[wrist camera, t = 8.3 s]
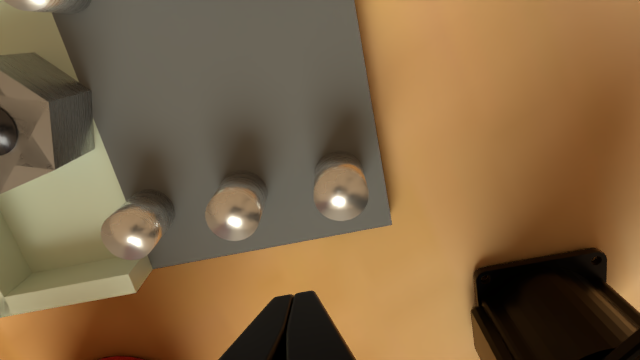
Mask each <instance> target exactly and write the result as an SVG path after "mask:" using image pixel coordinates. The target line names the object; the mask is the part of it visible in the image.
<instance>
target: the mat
mask: <svg viewBox="0 0 640 360" xmlns="http://www.w3.org/2000/svg"><path fill="white" fill-rule="evenodd" d="M52 15H53V18H54V20H55V23H56V25H57V28H58V30H59V33H60V35H61V38H62V40H63V43H64V46H65V48H66V51H67V53H68V56H69V58H70V61H71V63H72V66H73V68H74V71H75V73H76V76H77V78H78V81H79V83H81V84H82V85H84V86H85V87H87V88H88V89H90V90H91V91H92V108H93V119H94V121H95V124H96V127H97V129H98V132H99V134H100V137H101V139H102V142H103V144H104V147H105V149H106V152H107V154H108V157H109V159H110V162H111V164H112V167H113V170H114V172H115V175H116V177H117V180H118V182H119V185H120V187H121V190H122V192H123V195H124V197H125V200H126V201H127V200H129V199H130V198H131V197H132V196H133V195H134V194H136V193H137V192H139V191H142V190H155V191H158V192H160V193H162V194H164V195H165V196H166V197H168V199H169V200H170V201H171V202H172V204H173V206H174V210H175V218H174V221H173V223H172V224H171V226H170V227H169V228H168V230H167V231H166V232H165V234H164V235H163V236H162V238H161V239H160V240H159V241H158V243H157V244H156V245H155V247H154V248H153V249H152V250H151V252H150V253H149V254H148V255H147V256H148V258H149V261H150V263H151V266H152V268H153V269H157V268H162V267H167V266H173V265H178V264H184V263H189V262H194V261H200V260H205V259H211V258H216V257H221V256H227V255H232V254H237V253H243V252H248V251H254V250H259V249H264V248H270V247H275V246H281V245H286V244H291V243H297V242H302V241H308V240H313V239H318V238H324V237H329V236H335V235H340V234H345V233H351V232H356V231H361V230H367V229H372V228H378V227H383V226H388V225H392V221H391V215H390V210H389V204H388V198H387V192H386V186H385V180H384V174H383V168H382V162H381V156H380V150H379V144H378V138H377V133H376V127H375V121H374V115H373V109H372V103H371V97H370V91H369V85H368V79H367V73H366V67H365V61H364V55H363V50H362V44H361V38H360V32H359V26H358V20H357V14H356V8H355V2H354V0H92V1H91V3H90V5H89V6H88V7H87V8H86V9H85V10H83V11H81V12H79V13H74V14H67V13H52ZM337 151H342V152H347V153H349V154H351V155H353V156H354V157H355V158H356V159H357V160H358V161H359V162H360V164H361V166H362V169H363V173H364V177H365V180H366V184H367V187H368V192H369V198H368V203H367V205H366V207H365V209H364V210H363V211H362V212H361V213H360V214H359V215H358V216H356V217H355V218H353V219H350V220H346V221H336V220H332V219H329V218H327V217H325V216H324V215H323V214H321V213H320V211H319V210H318V209H317V207H316V205H315V202H314V177H315V169H316V166H317V164H318V162H319V161H320V159H322V158H323V157H324V156H325V155H327V154H329V153H332V152H337ZM236 171H248V172H251V173H253V174H255V175H257V176H258V177H259V178H261V180H262V181H263V182H264V184H265V186H266V189H267V200H266V203H265V206H264V209H263V212H262V215H261V218H260V221H259V224H258V227H257V229H256V230H255V232H254V233H253V234H252V235H251V236H249V237H248V238H246V239H243V240H240V241H229V240H225V239H222V238H220V237H218V236H217V235H216V234H214V233H213V232H212V231H211V229H210V228H209V226H208V225H207V222H206V219H205V211H206V207H207V205H208V203H209V201H210V200H211V198H212V197H213V195H214V194H215V192H216V191H217V189H218V188H219V186H220V184H221V183H222V181H223V180H224V179H225V178H226V177H227V176H228V175H229V174H231V173H233V172H236Z"/></svg>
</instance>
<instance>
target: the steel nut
mask: <svg viewBox="0 0 640 360" xmlns="http://www.w3.org/2000/svg"><path fill="white" fill-rule="evenodd" d="M94 149H95V142H94V125H93V108H92V91H91V90H90V89H88V88H87V87H85V86H84V85H82V84H81V83H79V82H78V81H77V80H75V79H74V78H72V77H71V76H69V75H68V74H66V73H65V72H63V71H62V70H60V69H59V68H57V67H56V66H54V65H53V64H51V63H50V62H48V61H47V60H45V59H44V58H42V57H41V56H39V55H38V54H36V53H35V52H32V53H20V54H8V55H0V194H2V193H4V192H6V191H8V190H11V189H13V188H15V187H18V186H20V185H22V184H24V183H27V182H29V181H31V180H33V179H36V178H38V177H40V176H42V175H45V174H47V173H49V172H52V171H54V170H56V169H58V168H60V167H62V166H63V165H65V164H67V163H69V162H71V161H73V160H75V159H77V158H79V157H80V156H82V155H84V154H86V153H88V152H90V151H92V150H94Z"/></svg>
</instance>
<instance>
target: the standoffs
mask: <svg viewBox="0 0 640 360" xmlns="http://www.w3.org/2000/svg"><path fill="white" fill-rule="evenodd" d="M4 1H5V2H6V3H8V4H9V5H10V6H12V7H14V8H16V9H19V10H23V11H33V12H50V13H67V14H74V13H79V12H81V11H83V10H85V9H86V8H87V7H88V6H89V5H90V3H91V1H92V0H4ZM368 198H369V192H368V187H367V184H366V180H365V177H364V173H363V169H362V166H361V164H360V162H359V161H358V160H357V159H356V158H355V157H354V156H353V155H351V154H349V153H347V152H342V151H337V152H332V153H329V154H327V155H325V156H324V157H323V158H322V159H320V161H319V162H318V164H317V166H316V169H315V177H314V202H315V205H316V207H317V209H318V210H319V211H320V213H321V214H323V215H324V216H325V217H327V218H329V219H332V220H336V221H346V220H350V219H353V218H355V217H356V216H358V215H359V214H360V213H361V212H362V211H363V210H364V209H365V207H366V205H367V203H368ZM266 200H267V189H266V186H265V184H264V182H263V181H262V180H261V178H259V177H258V176H257V175H255V174H253V173H251V172H248V171H236V172H233V173H231V174H229V175H228V176H227V177H226V178H225V179H224V180H223V181H222V183H221V184H220V186H219V188H218V189H217V191H216V192H215V194H214V195H213V197H212V198H211V200H210V201H209V203H208V205H207V207H206V211H205V219H206V222H207V225H208V226H209V228H210V229H211V231H212V232H213V233H214V234H216V235H217V236H218V237H220V238H222V239H225V240H229V241H240V240H243V239H246V238H248V237H249V236H251V235H252V234H253V233H254V232H255V230H256V229H257V227H258V224H259V221H260V218H261V215H262V212H263V209H264V206H265V203H266ZM174 218H175V210H174V206H173V204H172V202H171V201H170V200H169V199H168V197H166V196H165V195H164V194H162V193H160V192H158V191H155V190H142V191H139V192H137V193H136V194H134V195H133V196H132V197H131V198H130V199H129V200H127V201H126V202H125V203H124V204H123V205H122V206H121V207H120V208H118V209H117V210H116V211H115V212H114V213H113V214H112V215H110V216H109V217H108V218H107V219H106V220H105V221H104V223H103V225H102V228H101V238H102V241H103V243H104V245H105V247H106V248H107V249H108V250H109V251H110V252H111V253H112V254H113V255H115V256H117V257H119V258H122V259H125V260H138V259H141V258H144V257H145V256H147V255H148V254H149V253H150V252H151V250H152V249H153V248H154V247H155V245H156V244H157V243H158V241H159V240H160V239H161V238H162V236H163V235H164V234H165V232H166V231H167V230H168V228H169V227H170V226H171V224H172V223H173V221H174Z"/></svg>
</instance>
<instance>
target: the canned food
mask: <svg viewBox="0 0 640 360" xmlns="http://www.w3.org/2000/svg"><path fill="white" fill-rule="evenodd" d="M99 360H144V359H140V358H134V357H124V356H115V357H106V358H102V359H99Z"/></svg>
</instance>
